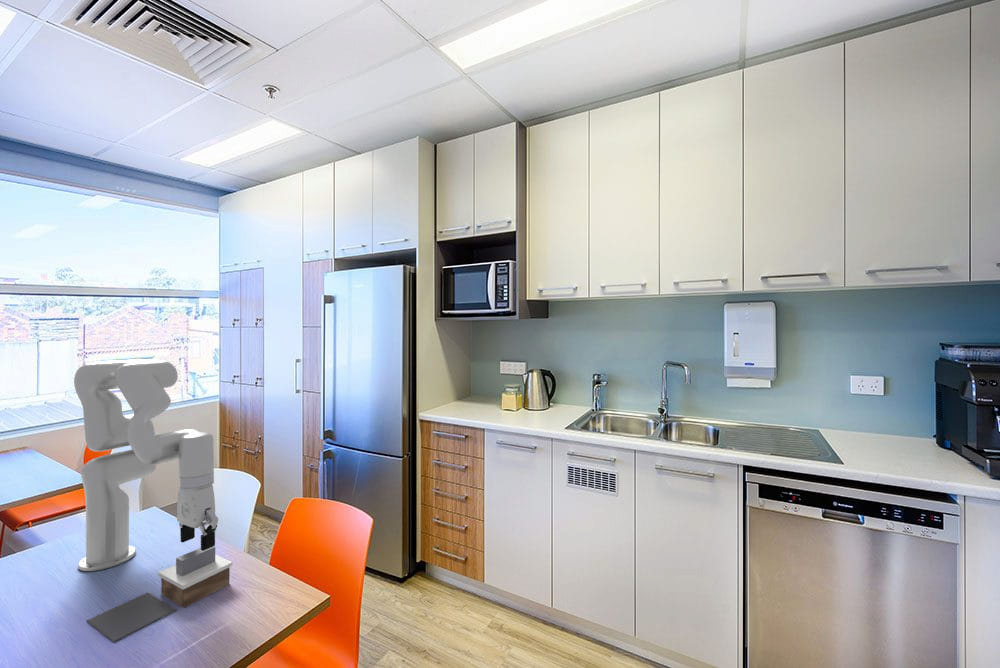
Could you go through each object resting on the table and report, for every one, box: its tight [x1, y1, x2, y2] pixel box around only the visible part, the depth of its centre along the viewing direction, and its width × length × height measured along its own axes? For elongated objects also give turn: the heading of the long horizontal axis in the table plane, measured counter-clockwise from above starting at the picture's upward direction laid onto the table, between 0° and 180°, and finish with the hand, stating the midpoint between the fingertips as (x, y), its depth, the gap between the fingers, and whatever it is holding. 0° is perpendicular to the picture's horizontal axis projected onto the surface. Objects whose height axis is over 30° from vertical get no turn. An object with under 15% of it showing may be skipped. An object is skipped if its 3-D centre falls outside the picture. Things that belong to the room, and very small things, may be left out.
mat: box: [86, 592, 177, 643], centre depth 102 cm, size 14×12×1 cm
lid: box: [157, 546, 234, 589], centre depth 112 cm, size 12×12×5 cm
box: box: [160, 567, 231, 609], centre depth 112 cm, size 11×11×5 cm
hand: (197, 544), depth 112 cm, fingers open, 9 cm apart
